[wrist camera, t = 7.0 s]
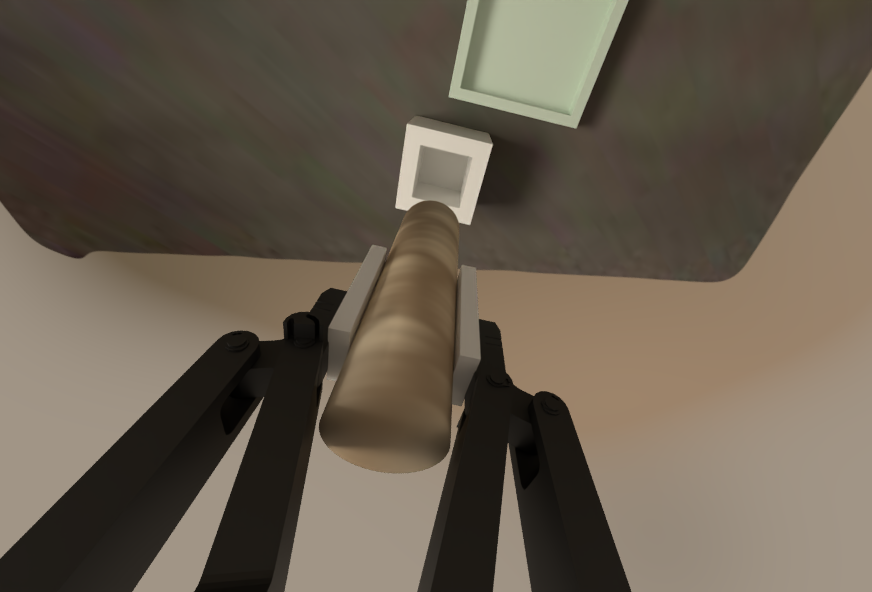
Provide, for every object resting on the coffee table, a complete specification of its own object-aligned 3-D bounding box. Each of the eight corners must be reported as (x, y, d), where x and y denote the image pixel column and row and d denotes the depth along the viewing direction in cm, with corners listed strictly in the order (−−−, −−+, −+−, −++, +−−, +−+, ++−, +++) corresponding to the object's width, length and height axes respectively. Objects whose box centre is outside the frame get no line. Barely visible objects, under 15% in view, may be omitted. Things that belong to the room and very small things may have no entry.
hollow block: (404, 189, 42) (395, 207, 37) (416, 115, 38) (407, 123, 32) (469, 204, 43) (469, 224, 37) (488, 133, 38) (492, 144, 32)
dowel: (398, 247, 24) (318, 460, 11) (407, 194, 22) (319, 384, 9) (451, 259, 24) (435, 481, 11) (465, 208, 22) (465, 412, 9)
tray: (449, 95, 36) (448, 96, 34) (479, -58, 29) (480, -67, 28) (570, 125, 37) (576, 128, 35) (627, -17, 30) (638, -23, 28)
